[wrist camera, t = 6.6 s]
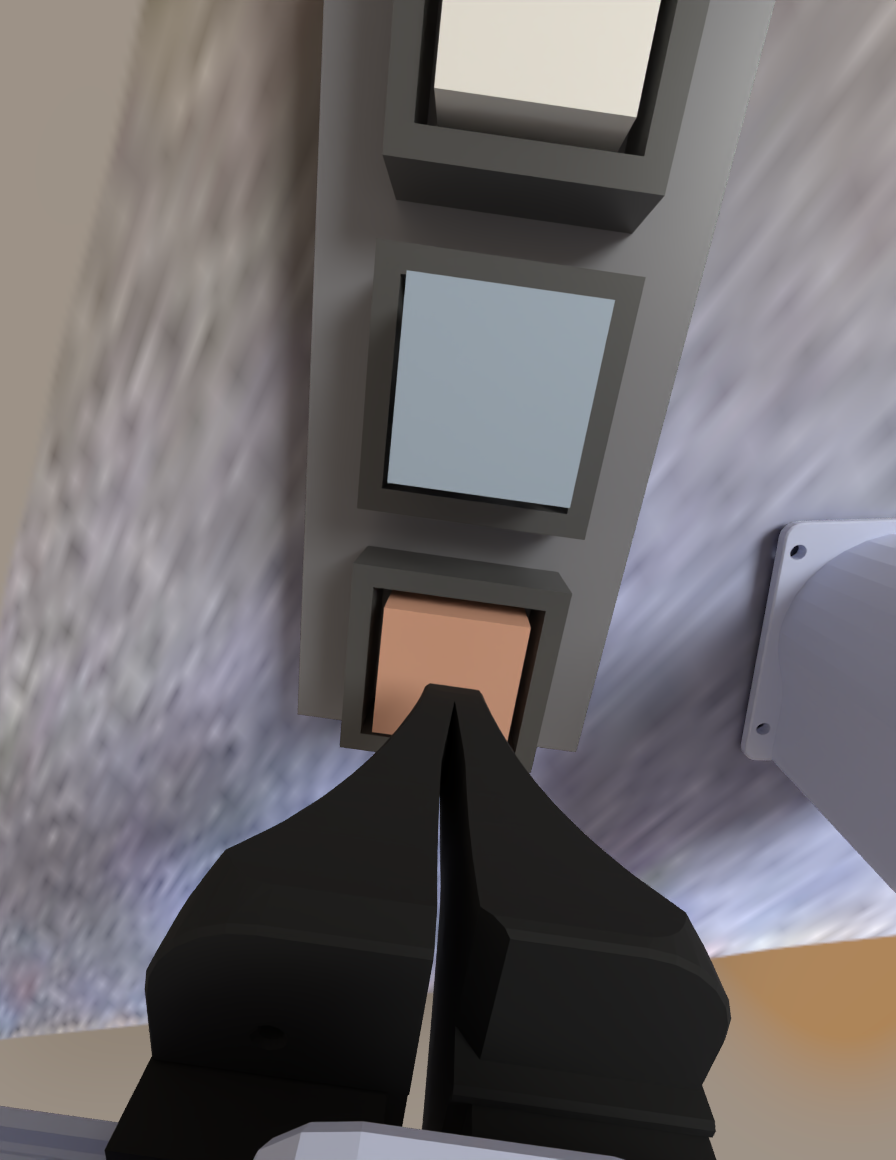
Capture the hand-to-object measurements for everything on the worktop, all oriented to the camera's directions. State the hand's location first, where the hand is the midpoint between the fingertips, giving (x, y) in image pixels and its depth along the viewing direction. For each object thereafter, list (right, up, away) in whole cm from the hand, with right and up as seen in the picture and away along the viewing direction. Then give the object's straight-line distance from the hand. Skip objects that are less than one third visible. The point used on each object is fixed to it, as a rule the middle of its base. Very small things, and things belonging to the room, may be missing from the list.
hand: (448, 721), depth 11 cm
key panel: (+1, +9, +4) cm, 10 cm away
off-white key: (+2, +15, -1) cm, 15 cm away
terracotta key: (0, +1, +4) cm, 4 cm away
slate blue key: (+1, +8, 0) cm, 8 cm away
